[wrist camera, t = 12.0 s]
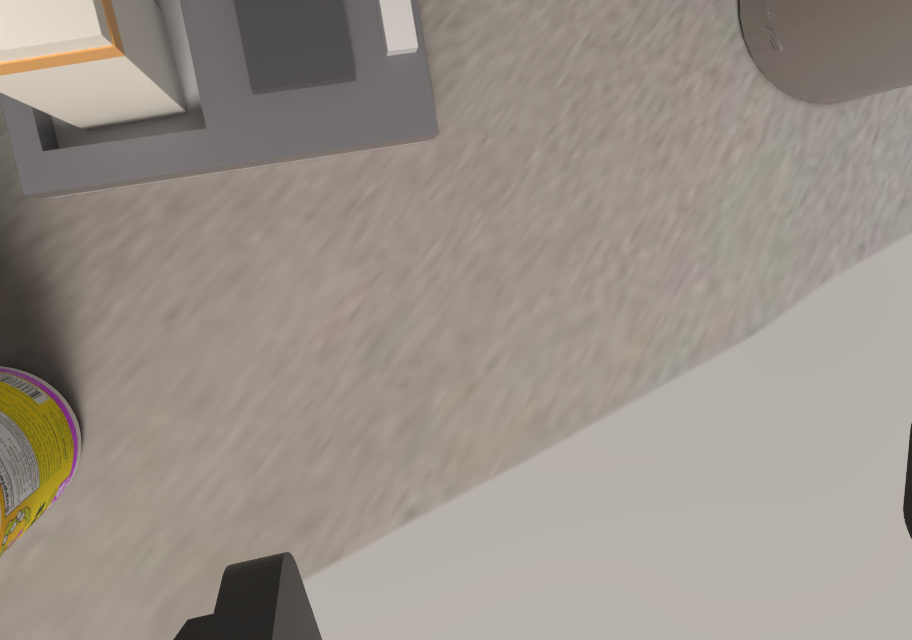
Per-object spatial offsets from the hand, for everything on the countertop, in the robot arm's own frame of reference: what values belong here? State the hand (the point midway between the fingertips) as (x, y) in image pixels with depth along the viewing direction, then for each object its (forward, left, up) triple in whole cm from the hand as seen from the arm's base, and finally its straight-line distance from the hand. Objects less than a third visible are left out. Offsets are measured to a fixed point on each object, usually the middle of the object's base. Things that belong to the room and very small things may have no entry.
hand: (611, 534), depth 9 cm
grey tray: (+5, -12, -24) cm, 28 cm away
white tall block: (+9, -12, -24) cm, 28 cm away
